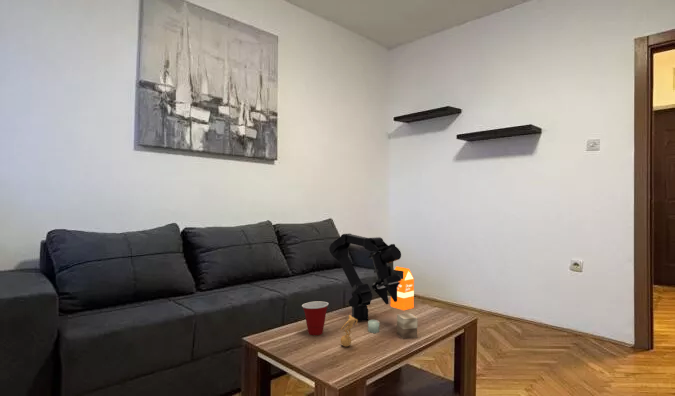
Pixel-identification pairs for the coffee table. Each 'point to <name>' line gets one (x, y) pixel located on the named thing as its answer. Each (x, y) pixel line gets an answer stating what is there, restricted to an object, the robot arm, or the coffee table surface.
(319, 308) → the plastic cup
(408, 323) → the birch block
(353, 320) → the figurine
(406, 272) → the orange juice
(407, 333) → the walnut block
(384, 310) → the coffee table surface
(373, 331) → the stubby sage cylinder
